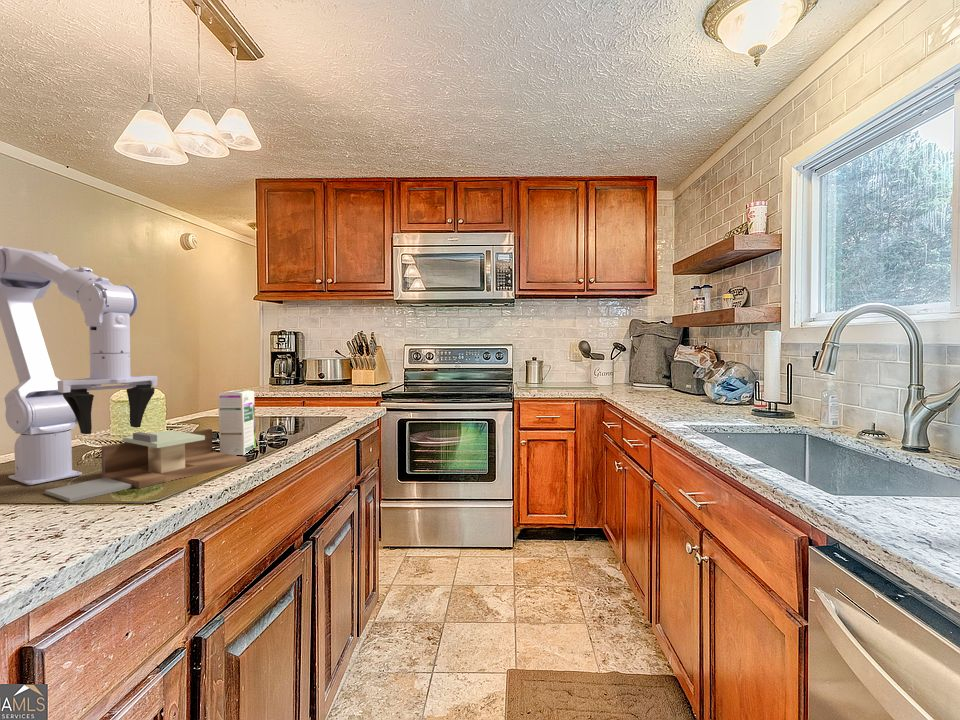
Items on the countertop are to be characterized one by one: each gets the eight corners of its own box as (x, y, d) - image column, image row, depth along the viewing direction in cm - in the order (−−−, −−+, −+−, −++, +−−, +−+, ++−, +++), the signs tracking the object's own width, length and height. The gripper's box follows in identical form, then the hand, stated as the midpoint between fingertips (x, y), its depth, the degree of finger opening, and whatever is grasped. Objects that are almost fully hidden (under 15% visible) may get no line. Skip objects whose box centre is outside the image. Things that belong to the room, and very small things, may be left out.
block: (148, 474, 96) (147, 444, 96) (172, 469, 100) (171, 440, 100) (161, 478, 94) (160, 446, 94) (185, 472, 98) (184, 442, 97)
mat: (44, 493, 84) (44, 490, 84) (105, 480, 92) (105, 477, 92) (69, 502, 79) (69, 498, 79) (131, 487, 87) (131, 484, 87)
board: (102, 478, 93) (101, 446, 93) (209, 455, 112) (208, 429, 111) (139, 488, 87) (138, 454, 87) (246, 463, 105) (245, 434, 105)
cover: (122, 441, 96) (122, 431, 96) (170, 433, 104) (170, 424, 104) (157, 448, 90) (156, 437, 90) (204, 439, 98) (204, 429, 98)
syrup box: (244, 456, 112) (243, 392, 111) (218, 455, 112) (217, 392, 111) (256, 450, 117) (255, 389, 117) (231, 450, 117) (230, 389, 117)
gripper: (70, 354, 78) (72, 439, 79) (166, 352, 91) (167, 426, 91) (50, 353, 82) (52, 434, 82) (145, 352, 94) (146, 422, 95)
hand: (111, 430), depth 87 cm, fingers open, 7 cm apart
